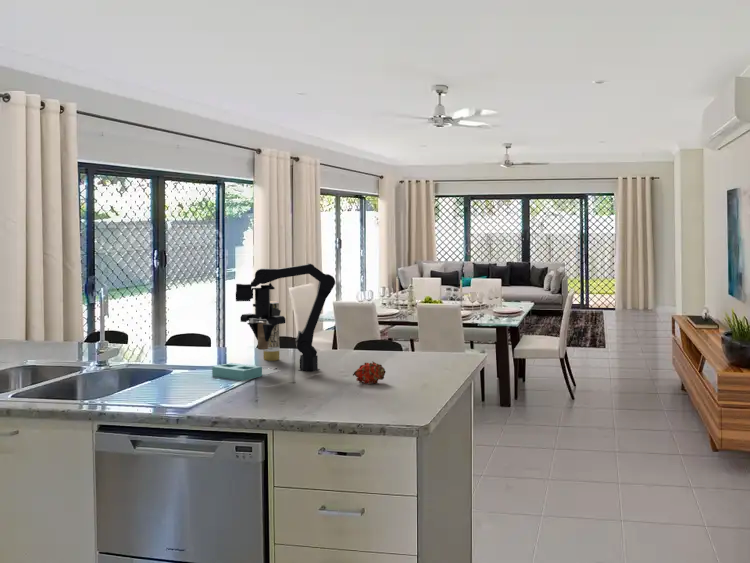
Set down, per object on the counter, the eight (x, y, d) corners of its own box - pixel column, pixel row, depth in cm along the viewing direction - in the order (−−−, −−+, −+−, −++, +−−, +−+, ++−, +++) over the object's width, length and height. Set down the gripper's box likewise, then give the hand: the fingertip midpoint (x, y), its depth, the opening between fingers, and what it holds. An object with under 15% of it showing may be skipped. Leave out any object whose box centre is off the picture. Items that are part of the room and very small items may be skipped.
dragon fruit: (388, 387, 270) (355, 393, 269) (384, 370, 276) (352, 376, 275) (387, 371, 265) (353, 377, 263) (383, 354, 271) (350, 360, 270)
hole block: (262, 377, 283) (261, 366, 282) (243, 381, 274) (243, 370, 274) (231, 373, 291) (231, 362, 291) (212, 377, 283) (212, 366, 283)
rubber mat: (281, 371, 294) (281, 370, 293) (264, 375, 285) (264, 374, 285) (262, 369, 299) (262, 368, 299) (245, 373, 291) (245, 372, 291)
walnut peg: (270, 348, 292) (270, 323, 291) (263, 349, 289) (263, 324, 288) (262, 347, 294) (262, 322, 294) (255, 349, 291) (255, 323, 290)
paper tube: (276, 361, 317) (275, 302, 316) (261, 361, 319) (260, 302, 317) (281, 358, 324) (280, 301, 323) (266, 358, 325) (265, 301, 324)
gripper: (294, 300, 292) (294, 340, 293) (258, 298, 302) (259, 336, 303) (275, 302, 283) (276, 343, 284) (239, 300, 293) (239, 340, 294)
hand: (262, 341), depth 291 cm, fingers closed on walnut peg, 4 cm apart
